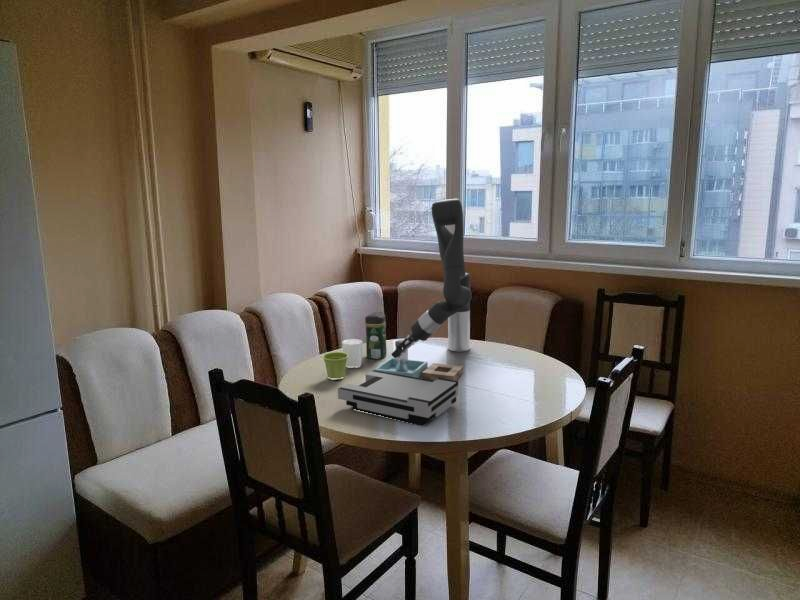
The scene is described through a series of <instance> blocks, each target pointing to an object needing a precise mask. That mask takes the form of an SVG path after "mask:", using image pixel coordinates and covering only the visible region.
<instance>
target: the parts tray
mask: <svg viewBox="0 0 800 600" xmlns="http://www.w3.org/2000/svg"><path fill="white" fill-rule="evenodd" d="M428 367H429V366H428V361H425V360H415V359H414V360H413V359H408V372H400V371H396V358H394V357H390V358H389V359H387V360H386V361H384V362H382V363H381V364H380V365H379V366H377V367H376V368H374V370H376V371H382V372H387V373H393V374H399V375H405V376H410V377H416V378H422V372H423V371H424V370H426V369H427V368H428Z"/></svg>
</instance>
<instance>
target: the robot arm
mask: <svg viewBox="0 0 800 600" xmlns="http://www.w3.org/2000/svg"><path fill="white" fill-rule="evenodd" d="M431 217H432V220H433V224H434V229H435V232H436V237H437V243H438V251H439V257H440V261H441V265H442V266H441V267H442V270H443V271H442V273H443V282H444V283H443V289H442V292H443V293H442V294H443V297H444V300H439V301H436V302H435V303H434V304H432V305H431V306H430V308H428V310H426V311H425V312H424V313H423V314H421V315H420V317H418V318H417V320H415V321H414V322H413V323H412V324H411V326H410V330H411V332H410V333H409V334H407V335H406V337H405V338H403V341H402V342H401V344H400V345H399V346H397V348H396V347H395V350H394V351H392V353H391V356H392V358H396V357H398V356H399V355H400V354H401V353H402V352H403V351H404V350H405V349H408V350H409V349H410V348H411V347H412V346H414V345H416V344H417V343H418V342H420V341H423V342H425V341H427V340H428V339H429V338H430V337H431V336H432V335H433V334H435V333H436V332H437V330H439V329H440V328H441V326H442V325H443V324H444V323H445V322H446V321H447V322H448V323H447V333H448V334H447V337H448V339H447V344H448V345H447V347H448V350H449V351H452V352H467V351H469V350H470V348H471V347H470V346H471V344H470V343H471V342H470V339H471V337H470V336H471V335H470V334H471V330H470V329H471V301H472V299H473V292H472V290H471V287H472V283H471V282H472V281H471V279H472V278H471V277H472V276H471V274H470V273H468V272H466V263H465V256H464V238H465V237H464V231H465V229H464V210H463V204H462V202H461V200H460V199H459V198H449V199H441V200H437V201H434V202H433V203H432V205H431ZM453 225H454V232H452V231H451V230H450V229H448V227H447V226H453ZM401 346H402V347H403V349H402V348H401Z"/></svg>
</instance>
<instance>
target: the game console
mask: <svg viewBox="0 0 800 600" xmlns="http://www.w3.org/2000/svg"><path fill="white" fill-rule="evenodd" d="M458 396H459V380H456V381H454V380H448V379H442V378H438V379H437V380H435V381H433V380H427V379H422V377H421V378H416V377H410V376H405V375H399V374H393V373H387V372H382V371H376V370H372V371H370V372H368V373H366V374H365V382H363V383H361V384H359V385H356V384H350V383H346V384H344V385H342V386H340V387H339V388H337V399H338V400H344V401H345V402H346V405H347V406H350V407H352V410H353V409H356V410H360V411H364V412H368V413H372V414H376V415H381V416H384V417H388V418H392V419H396V420H395V421H397V420H400V421H399V422H401V421H404V422H403V423H406V422H408V423H407V424H410V423H412V424H411V425H415V424H416V425H415V426H419V425H420V427H424V426H425V425H426V424H427V423H430V422H431V421H433V420H434V419H435V418H437V417H439V416H440V415H441V414H442V413H444V412H445V411H447V410H448V409H449V408H450V407H452V405H453V404H454V403H456V402H457V397H458ZM388 418H387V419H388ZM392 419H391V420H392ZM423 425H424V426H423Z"/></svg>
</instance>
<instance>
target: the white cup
mask: <svg viewBox="0 0 800 600" xmlns="http://www.w3.org/2000/svg"><path fill="white" fill-rule="evenodd" d="M341 346H342V353H346V354H348V358H347V361H346V365H347V366H359V365H361V364H362V365H363V363H362V362H363V361H362V360H363V340H361V339H357V338H350V339H344V340H342V342H341Z"/></svg>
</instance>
